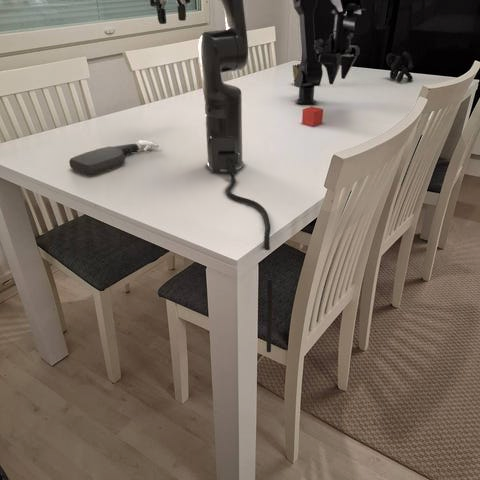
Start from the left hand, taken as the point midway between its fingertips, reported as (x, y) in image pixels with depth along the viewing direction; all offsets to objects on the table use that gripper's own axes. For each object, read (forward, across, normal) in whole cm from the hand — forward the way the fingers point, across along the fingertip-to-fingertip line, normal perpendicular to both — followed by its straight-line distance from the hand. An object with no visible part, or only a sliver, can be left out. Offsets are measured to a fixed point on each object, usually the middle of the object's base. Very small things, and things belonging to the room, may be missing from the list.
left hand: (172, 22), depth 128 cm
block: (+32, -28, +33) cm, 54 cm away
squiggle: (+32, -105, +39) cm, 117 cm away
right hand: (+20, -40, +36) cm, 57 cm away
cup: (+32, -76, +4) cm, 82 cm away
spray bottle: (+32, +29, 0) cm, 43 cm away
